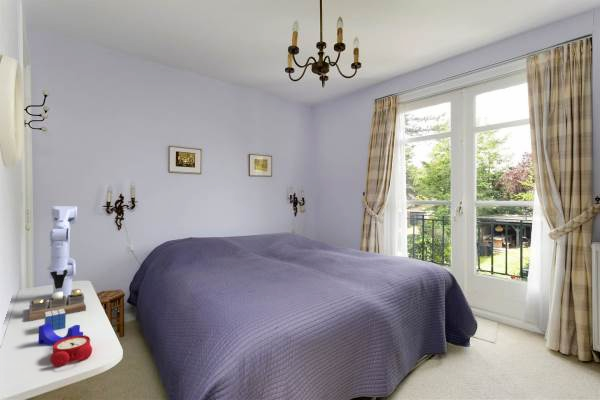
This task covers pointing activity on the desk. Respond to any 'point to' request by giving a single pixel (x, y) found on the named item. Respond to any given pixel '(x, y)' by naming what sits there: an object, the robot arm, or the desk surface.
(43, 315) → the knob panel
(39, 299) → the knob
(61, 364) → the alarm clock
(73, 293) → the knob
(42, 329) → the blue curved block
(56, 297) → the knob middle
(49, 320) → the puzzle toy
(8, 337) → the desk surface
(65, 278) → the robot arm
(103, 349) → the desk surface
